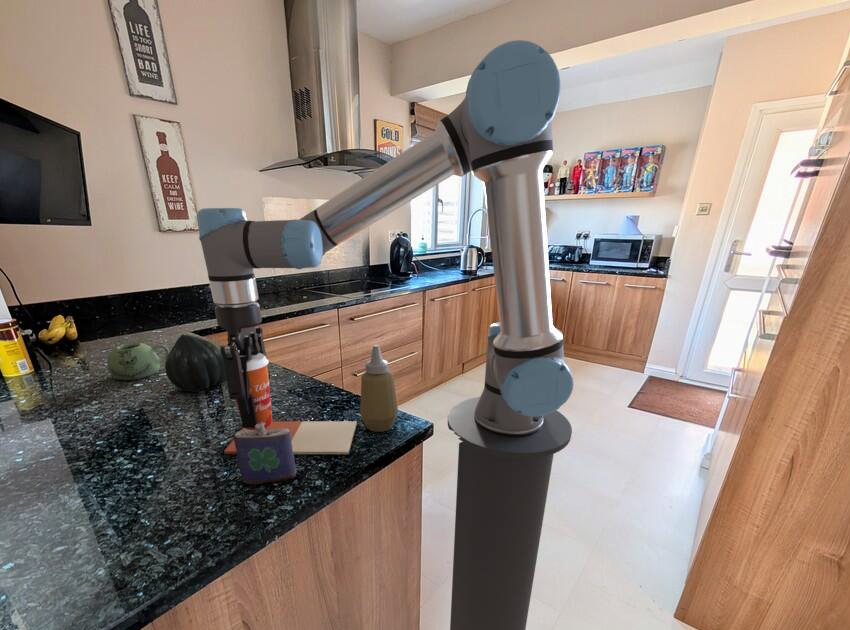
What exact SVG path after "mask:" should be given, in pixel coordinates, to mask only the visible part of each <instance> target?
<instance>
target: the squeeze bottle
mask: <svg viewBox="0 0 850 630" xmlns="http://www.w3.org/2000/svg"><path fill="white" fill-rule="evenodd" d="M360 382H361V383H360V404H359V405H360V406H359V414H360V416H361V419H362V422H363V423H364V426H365V427H366V429H367V430H369V431H370V432H374V433H375V432H376V433H383V432H387V431H390V430H391V429H392V428H393V427H394V424H395V422H396V419H397V417H398V413H399V410H398V408H399V407H398V401H397V394H396V386H395V377H394V373H393V372H392V371H390V369H389V361H387V360H385V359H383V355H382V351H381V348H380V345H379V344H373V346H372V351H371V357H370V360H368V361H366V362H365V371H364V372H362V374H361V381H360Z"/></svg>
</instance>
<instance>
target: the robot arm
mask: <svg viewBox="0 0 850 630" xmlns="http://www.w3.org/2000/svg"><path fill="white" fill-rule="evenodd" d="M465 94H466V95H465V96H464V98H463V100H462V101H461V102H460V103H459V104H458V105H457V106H456V107H455V109H453V110H452V111H451V112H450V113H449V114H447V115H446V116H444V117H442V118H441V119H440V120H438V121H437V123H436V127H435V131H434V132H432V133H430V134H428V135H427V136H426V137H424V138H422V139H421V140H420V141H418V142H416V143H415V144H413V145H412V146H410V147H409V148H408V149H405V150H404V151H403V152H401V153H400V154H398V155H397V156H395V157H393V158H391V159H390V160H389V161H387V162H386V163H384V164H383V165H381V166H379V167H378V168H376V169H375V170H373V171H372V172H371V173H368V174H367V175H365V176H364V177H362V178H361V179H360V180H358V181H356V182H355V183H354V184H352V185H350V186H349V187H347V188H345V189H344V190H343V191H341V192H339V193H338V194H337V195H335V196H333V197H331V198H330V199H329V200H327V201H325V202H324V203H322V204H321V205H319V206H317V208H315V209H314V210H311V211H310V212H308V213H307V214H305V215H304V216H302V217H301V218H299V219H296V218H295V219H281V220H277V219H276V220H257V221H256V220H248V218H247V216H246V212H245V211H244V210H243V209H242V208H239V207H209V208H208V207H207V208H201V209H199V210H198V211H197V214H196V220H197V221H196V222H197V228H198V235H199V236H198V239H199V241H200V245H201V248H202V253H203V257H204V263H205V266H206V272H207V279H208V282H209V285H208V290H210V292H211V296H212V302H213V303H214V304H215V305H216V306H215V307H214V313H215V318H216V319H215V320H216V322H217V326H218V327H219V328H220V329H224V330H225V331H226V332H227V344H226V345H221V346H220V347H219V348H220V351H221V354H222V357H223V360H224V366H225V372H226V378H227V381H226V385H227V389H228V396H229V400H236V399H237V400H238V405H239V409H238V411H239V410H240V412H239V415H241V416H240V421H241V425H242V429H243V428H255V426H256V424H258V422H257V416H256V410H255V405H254V399H253V396H250V380H249V375H248V371H247V363H248V362H249V361H250V360H251V355H257V354H258V353H261V354H263V355H264V356H266V359H268V356H267V352H266V348H265V342H264V331H263V330H264V329H263V327H262V326H259V325H260V324H261V323H262V320H263V318H262V313H261V306H260V305H261V304H260V303H258V302H257V301H258V300H259V299H260V298H259V297H260V296H259V292H258V286H257V280H256V279H257V278H256V275H255V274H256V273H255V269H296V270H302V269H310V268H311V269H312V268H317V267H318V266H319V265H320V264H321V262H322V259H323V256H324V255H325V254H326V253H328V252H330V251H331V250H333V249H334V248H335V247H337V246H338V245H340V244H342V243H344V242H345V241H347V240H348V239H350V238H352V237H353V236H355V235H356V234H358V233H360V232H362V231H364V230H365V229H367V228H369V227H370V226H371V225H374V223H376V222H378V221H380V220H381V219H383V218H384V217H386V216H388V215H389V214H391V213H393V212H394V211H396V210H398V209H400V208H401V207H402V206H404V205H407V203H409V202H411V201H412V200H414V199H416V198H417V197H419V196H421V195H422V194H424V193H426V192H427V191H429V190H431V189H432V188H434V187H436V186H437V185H439V184H440V183H442V182H444V181H445V180H447V179H449V178H450V177H452V176H457V177H461V178H462V177H463V176H465V175H467V174H469V173H470V172H471V173H472V175H473V176H474V177H476V178H477V179H478V180H479V181H481V183H482V184H483V189H484V197H485V206H486V215H487V216H486V217H487V223H488V224H487V225H488V232H489V240H490V252H491V258H492V267H493V268H492V269H493V277H494V285H495V286H494V287H495V294H496V302H497V303H496V304H497V310H498V319H499V321H497V322H494V323H492V324H491V325H490V326H489V327H488V331H487V336H486V340H487V345H486V346H487V347H486V358H485V374H484V386H483V389H482V392H481V394H480V396H479V397H480V399H479V401H478V403H477V406H476V408H475V412H474V420H475V422H476V424H477V425H478V426H479V427H481V428H482V429H484V430H486V431H488V432H490V433H493V434H497V435H501V436H507V437H523V436H529V435H532V434H535V433H537V432H538V431H540V430H541V428H542V425H543V416H544V415H547V414H550V413H552V412H554V411H556V410H557V411H559V409H560V408H561V407H562V406H563V405H565V404H566V403H567V402H568V400H569V399H570V397H571V395H572V392H573V390H574V377H573V374H572V371H571V369H570V367H569V366H568V365H567V364H566V363H565V353H564V352H565V351H564V335H563V332H562V331H561V330H560V329H558V328H557V327H555V325H553V312H552V310H553V309H552V297H551V296H552V295H551V279H550V263H549V246H548V230H547V213H546V200H545V199H546V198H545V197H546V196H545V182H544V169H545V167H546V165H547V164H548V162H549V160H550V159H551V157H552V156H553V154H554V144H553V140H554V139H553V122H552V121H553V119H554V117H555V115H556V112H557V110H558V105H559V102H560V96H561V78H560V72H559V69H558V66H557V64H556V62H555V59H553V57H552V55H550V53H549V52H548V51H547V50H545V49H544V48H543V47H542V46H540V45H539V44H537V43H536V42H532V41H529V40H523V39H517V40H510V41H507V42H504V43H502V44H499V45H497V46H496V47H495V48H492V49H491V50H490V51H489V52H488V53H487V54H486V55H485V56H484V57H483V58H482V60H481V61H480V62H479V63H478V64H477V65H476V67H475V68H474V69H473V71H472V74H471V75H470V78H469V80H468V82H467V85H466V91H465ZM257 326H259V327H257ZM240 356H245V357H240ZM267 368H268V378H269V381H270V380H271V374H270V367H269V363H268V364H267ZM242 370H243V372H242ZM238 405H237V406H238Z"/></svg>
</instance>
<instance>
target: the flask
mask: <svg viewBox="0 0 850 630" xmlns="http://www.w3.org/2000/svg"><path fill="white" fill-rule="evenodd" d="M260 423H262V424H256V426H255V428H256V429H255V430H254V431H251V430H246V429H244V430H242V429H241V430H242V431H241V430H239V431H236V432H235V433H234V435H233V440H234V442H235V447H236V452H237V454H236V456H237V461H238V462H237V463H238V468H239V472H240V476H241V477H240V478H241V479H242V482H243V483H245V484H266V483H274V482H282V481H288V480H290V479H291V480H292V479H294V478H295V477H296V474H297V467H296V462H295V454H293V449H292V442H291V433H290V430H289V429H287V428H281V429H275V430H265V428H264V425H265V424H266V423H265V422H260Z"/></svg>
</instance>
